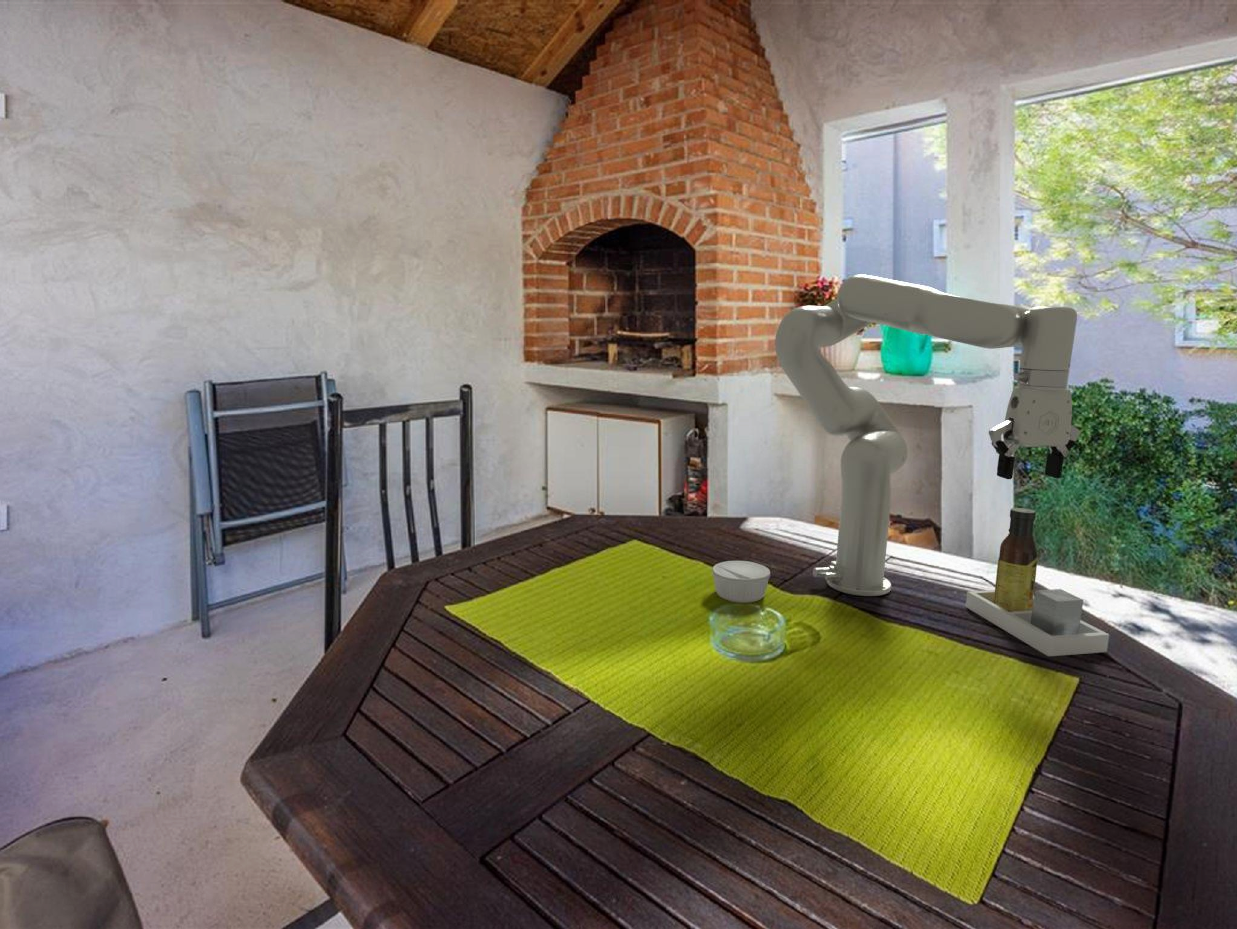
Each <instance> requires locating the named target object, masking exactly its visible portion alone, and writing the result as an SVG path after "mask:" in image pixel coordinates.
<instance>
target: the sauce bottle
mask: <svg viewBox="0 0 1237 929" xmlns="http://www.w3.org/2000/svg"><path fill="white" fill-rule="evenodd" d="M1009 511H1010V512H1009V518H1010V519H1009V520H1010V521H1009V527H1008V528H1009V529H1008V534H1007V536H1006V537H1005V538H1004V539H1003V541H1002V542H1001V543H1000V547H999V556H998V558H997V559H998V560H997V568H996V577H995V585H994V590H995V594H994V604H996V605H998V606H999V607H1001V608H1003V609H1005V610H1006V611H1008V612H1015V611H1031V610H1032V603H1033V596H1034V595H1035V584H1036V579H1037V578H1036V577H1037V567H1038V560H1039V559H1038V558H1039V553H1038V551H1037V545H1036V541H1035V537H1034V523H1035V520H1036V510H1034V509H1029V508H1023V507H1013V508H1010V510H1009Z"/></svg>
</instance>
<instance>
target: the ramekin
mask: <svg viewBox="0 0 1237 929" xmlns="http://www.w3.org/2000/svg"><path fill="white" fill-rule="evenodd" d="M711 573H712V576H713V580H714V588H715V592H716V594H717V595H718V596H719V597H720V598H721V599H723V600H726V601H730V602H734V603H740V604H742V603H743V604H744V603H746V604H747V603H754V601H755V602H757V601H759V600H762V599H763V597H765V595H766V591H767V587H768V584H769V583H768V582H769V579H770V578H771V571H770V569H769V567H767V566H765V565H763V564H761V563H760V564H759V563H756V562H754V561H753V562H752V561H748V560H747V561H746V560H727V561H722V562H719V563H718V562H717V563H716V564H714V566H713V567H712V570H711Z"/></svg>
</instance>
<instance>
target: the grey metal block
mask: <svg viewBox="0 0 1237 929" xmlns="http://www.w3.org/2000/svg"><path fill="white" fill-rule="evenodd" d="M1033 596H1034V602H1033V609H1032V616H1031V623H1030V624H1031V625H1033V626H1035V627H1037V628H1039V629H1040V630H1042V631H1044V632H1046V633H1047V634H1049V635H1051V636H1056V635H1070V634H1078V633H1079V626H1080V620H1082V618H1081V617H1082V613H1083V606H1084V599H1083V598H1080V597H1078V596H1076V595H1074V594H1072V593H1070V592H1068V591H1066V590H1064V589H1061V588H1058V589H1057V588H1053V589H1038V590H1037V589H1036V590H1035V589H1034V594H1033Z"/></svg>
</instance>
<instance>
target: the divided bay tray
mask: <svg viewBox="0 0 1237 929" xmlns="http://www.w3.org/2000/svg"><path fill="white" fill-rule="evenodd" d="M994 594H995V589H989V590H971V591H968V590H967V592H966V599H965V608H967V609H969V610H970V611H972V612H973V613H975V614H977V615H979V616H980V617H982V618H984V619H985V620H987V621H988V622H990V623H992V624H993V625H995V626H997V627H999V628H1000V629H1002V630H1004V631H1005V632H1007V633H1009V635H1012V636H1013V637H1015V638H1017V639H1018V640H1020V641H1022V642H1023V643H1025V644H1027V645H1029V646H1030V647H1031V648H1033V649H1035V650H1037V651H1039V652H1040V653H1042V654H1044V655H1045V656H1047V657H1057V656H1058V657H1059V656H1071V655H1082V654H1095V653H1096V654H1099V653H1108V652H1107V651H1108V645H1109V640H1110V639H1109V638H1110V634H1109V633H1107V632H1105V631H1103V630H1101V629H1099V628H1097V627H1095V626H1093V625H1091V624H1089V623H1087V622H1085V621H1083V620H1082V619H1081V620H1080V626H1079V633H1078V634H1070V635H1056V636H1051V635H1049V634H1047V633H1046V632H1044V631H1042V630H1040V629H1039V628H1037V627H1035V626H1033V625H1031V624H1030V623H1031V616H1032V610H1031V611H1015V612H1008V611H1006V610H1005V609H1003V608H1001V607H999V606H998V605H996V604H994ZM1033 602H1034V595H1033ZM1032 609H1033V603H1032Z"/></svg>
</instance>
